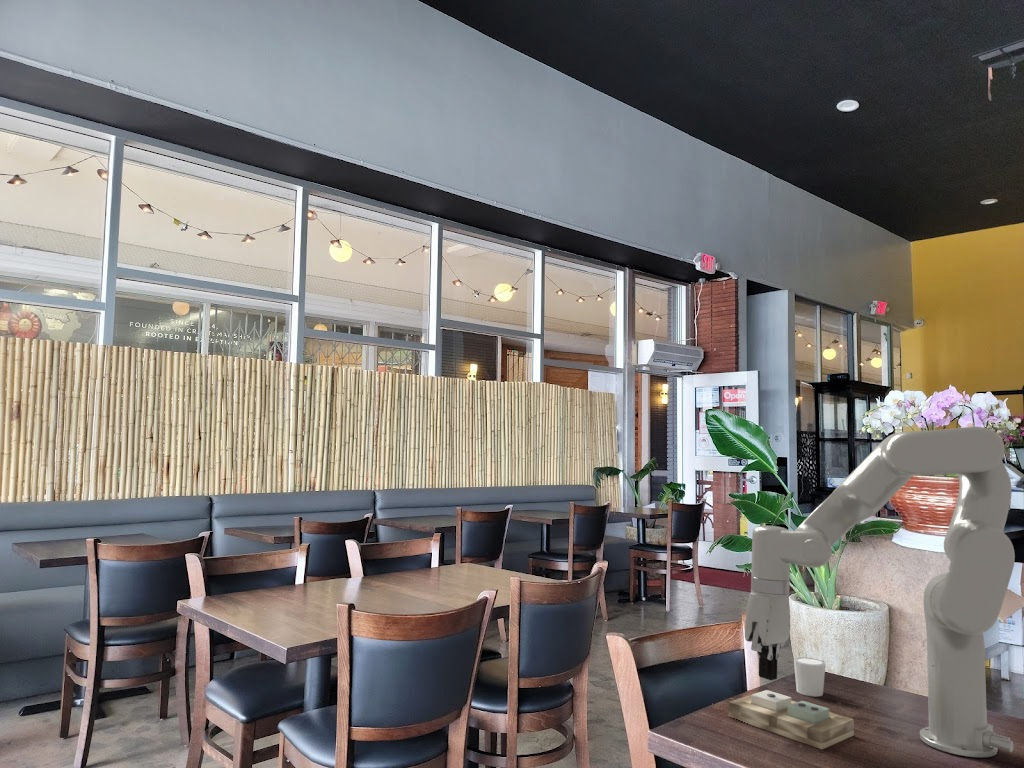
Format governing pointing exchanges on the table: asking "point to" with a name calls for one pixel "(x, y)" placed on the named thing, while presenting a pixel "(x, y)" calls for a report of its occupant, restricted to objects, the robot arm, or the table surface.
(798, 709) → the two dot tile
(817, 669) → the white cup
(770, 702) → the one dot tile
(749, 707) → the tile board
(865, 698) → the table surface
